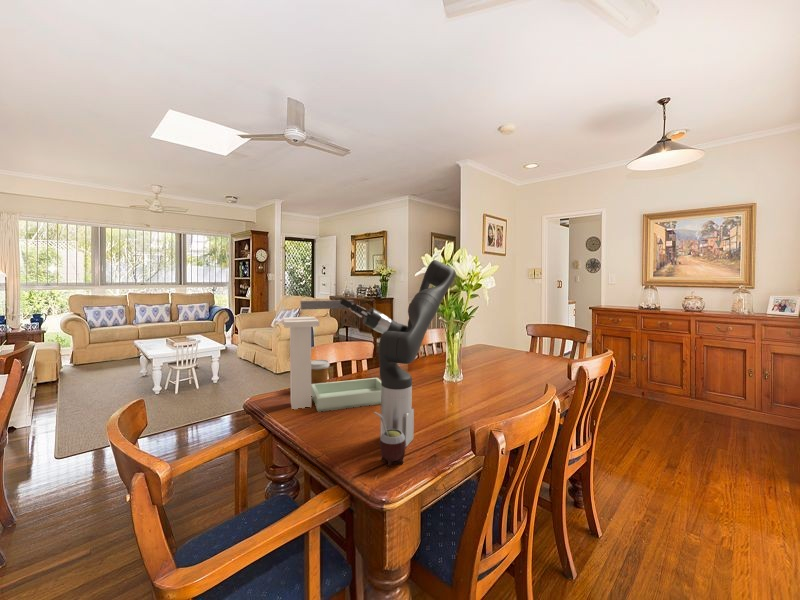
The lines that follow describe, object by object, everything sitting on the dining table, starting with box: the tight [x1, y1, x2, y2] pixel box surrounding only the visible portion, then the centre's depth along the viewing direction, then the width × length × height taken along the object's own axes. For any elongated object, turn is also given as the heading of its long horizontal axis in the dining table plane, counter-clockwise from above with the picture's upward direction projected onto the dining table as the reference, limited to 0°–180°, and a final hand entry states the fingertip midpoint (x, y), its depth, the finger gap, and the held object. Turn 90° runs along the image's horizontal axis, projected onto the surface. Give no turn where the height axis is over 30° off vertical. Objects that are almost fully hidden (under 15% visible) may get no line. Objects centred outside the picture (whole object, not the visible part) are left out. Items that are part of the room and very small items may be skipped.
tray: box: [311, 377, 381, 413], centre depth 141 cm, size 28×18×5 cm, turn 111°
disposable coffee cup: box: [311, 359, 331, 384], centre depth 153 cm, size 10×10×12 cm
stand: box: [282, 316, 320, 410], centre depth 133 cm, size 12×13×33 cm
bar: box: [299, 299, 355, 310], centre depth 135 cm, size 20×3×3 cm, turn 112°
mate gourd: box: [373, 411, 407, 469], centre depth 93 cm, size 8×8×15 cm
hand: (340, 300), depth 137 cm, fingers closed on bar, 3 cm apart
